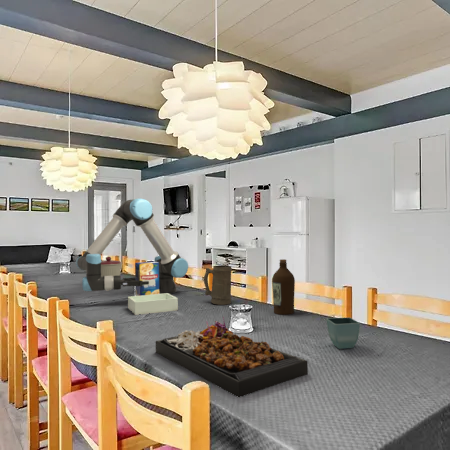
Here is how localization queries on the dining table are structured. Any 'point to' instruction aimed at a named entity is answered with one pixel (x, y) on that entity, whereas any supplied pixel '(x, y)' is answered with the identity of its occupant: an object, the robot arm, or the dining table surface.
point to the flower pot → (343, 332)
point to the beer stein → (219, 284)
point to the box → (152, 303)
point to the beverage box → (147, 277)
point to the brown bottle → (283, 290)
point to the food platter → (231, 359)
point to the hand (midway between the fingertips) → (154, 280)
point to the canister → (110, 267)
